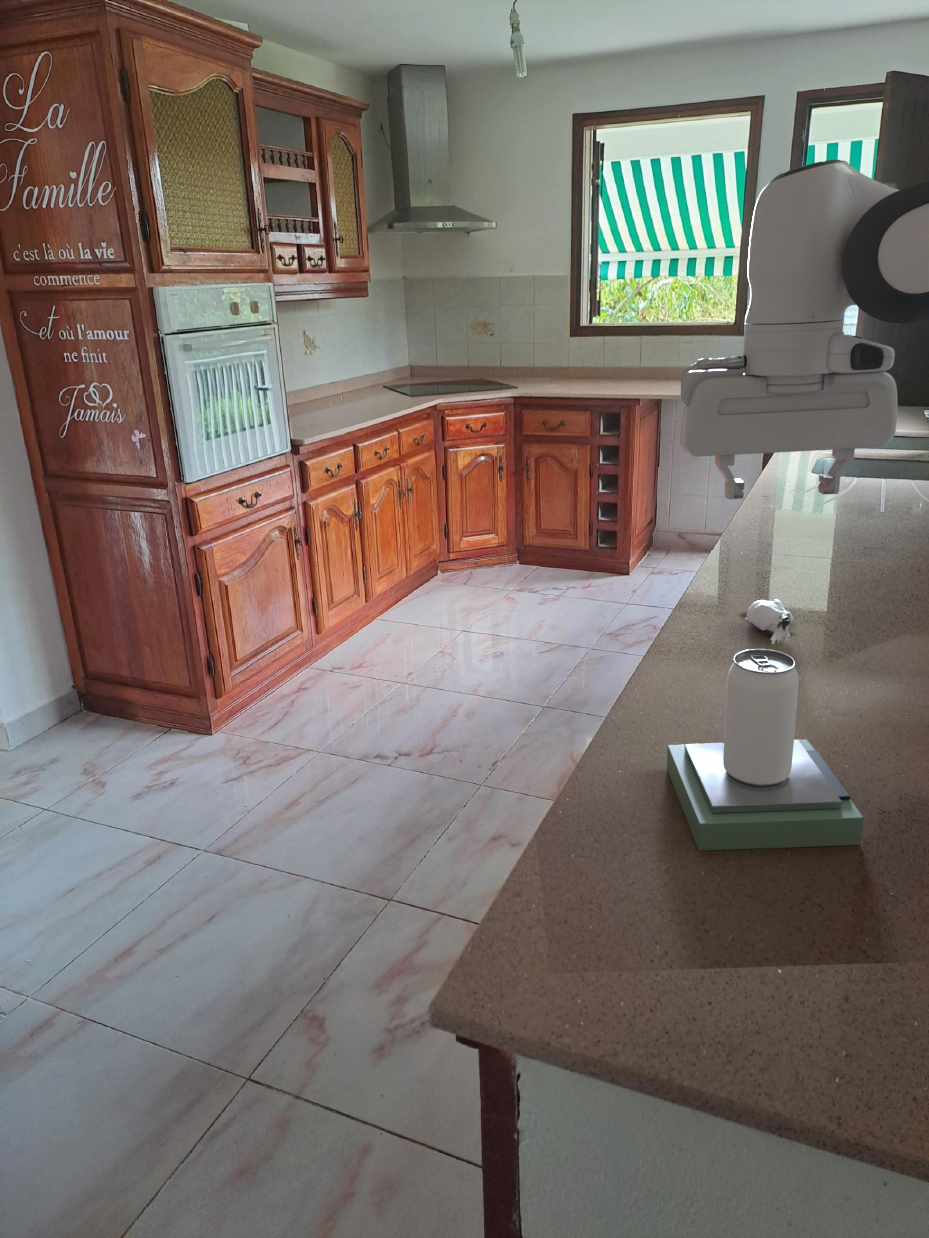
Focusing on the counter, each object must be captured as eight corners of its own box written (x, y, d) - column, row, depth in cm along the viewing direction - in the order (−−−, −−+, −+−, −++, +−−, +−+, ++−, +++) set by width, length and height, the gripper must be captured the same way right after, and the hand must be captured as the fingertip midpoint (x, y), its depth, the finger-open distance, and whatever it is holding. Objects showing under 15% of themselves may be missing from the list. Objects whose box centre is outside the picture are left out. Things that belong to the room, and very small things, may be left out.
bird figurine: (803, 647, 128) (769, 610, 136) (805, 610, 124) (770, 574, 132) (771, 656, 128) (739, 618, 136) (772, 620, 124) (739, 583, 132)
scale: (805, 763, 96) (807, 735, 95) (860, 845, 82) (864, 813, 81) (666, 769, 96) (667, 741, 95) (698, 851, 82) (699, 820, 81)
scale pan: (797, 746, 93) (798, 739, 93) (841, 808, 82) (842, 801, 82) (684, 750, 94) (684, 744, 94) (712, 813, 83) (712, 806, 82)
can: (734, 790, 85) (741, 676, 80) (714, 756, 91) (719, 649, 86) (801, 785, 85) (811, 672, 80) (776, 752, 91) (785, 645, 87)
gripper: (689, 362, 82) (684, 508, 86) (913, 349, 81) (895, 497, 86) (675, 357, 87) (671, 493, 92) (883, 345, 87) (868, 484, 92)
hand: (780, 495), depth 89 cm, fingers open, 8 cm apart
